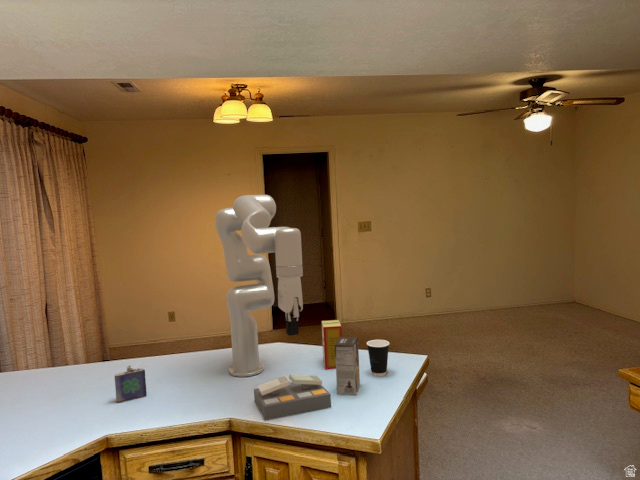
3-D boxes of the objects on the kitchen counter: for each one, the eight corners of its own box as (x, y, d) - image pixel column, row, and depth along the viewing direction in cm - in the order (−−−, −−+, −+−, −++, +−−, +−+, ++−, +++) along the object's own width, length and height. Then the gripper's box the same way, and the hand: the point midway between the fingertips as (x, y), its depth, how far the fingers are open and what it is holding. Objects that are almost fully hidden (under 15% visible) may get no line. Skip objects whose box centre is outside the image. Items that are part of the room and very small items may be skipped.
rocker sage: (289, 378, 145) (289, 374, 145) (316, 379, 149) (316, 375, 149) (293, 383, 141) (294, 379, 141) (321, 384, 144) (322, 380, 144)
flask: (116, 403, 149) (114, 370, 148) (115, 400, 151) (113, 368, 150) (147, 396, 153) (145, 364, 153) (145, 393, 156) (143, 362, 155)
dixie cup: (390, 369, 168) (389, 339, 167) (390, 378, 160) (389, 346, 159) (368, 369, 169) (367, 339, 168) (366, 377, 161) (365, 346, 161)
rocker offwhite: (258, 389, 142) (257, 385, 142) (286, 378, 145) (285, 374, 145) (262, 395, 138) (261, 391, 137) (290, 384, 140) (289, 380, 140)
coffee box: (341, 383, 157) (339, 336, 156) (360, 384, 156) (358, 336, 155) (336, 394, 148) (334, 344, 147) (356, 395, 147) (354, 345, 146)
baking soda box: (343, 368, 171) (341, 325, 170) (325, 369, 171) (323, 326, 170) (340, 359, 181) (338, 318, 180) (323, 360, 180) (321, 319, 179)
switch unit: (254, 401, 146) (253, 384, 145) (315, 390, 152) (314, 374, 152) (265, 420, 133) (264, 402, 132) (331, 407, 139) (330, 389, 139)
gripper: (270, 269, 141) (273, 330, 142) (283, 275, 126) (287, 342, 128) (294, 267, 143) (297, 326, 144) (310, 273, 129) (313, 339, 130)
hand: (292, 334), depth 136 cm, fingers closed
